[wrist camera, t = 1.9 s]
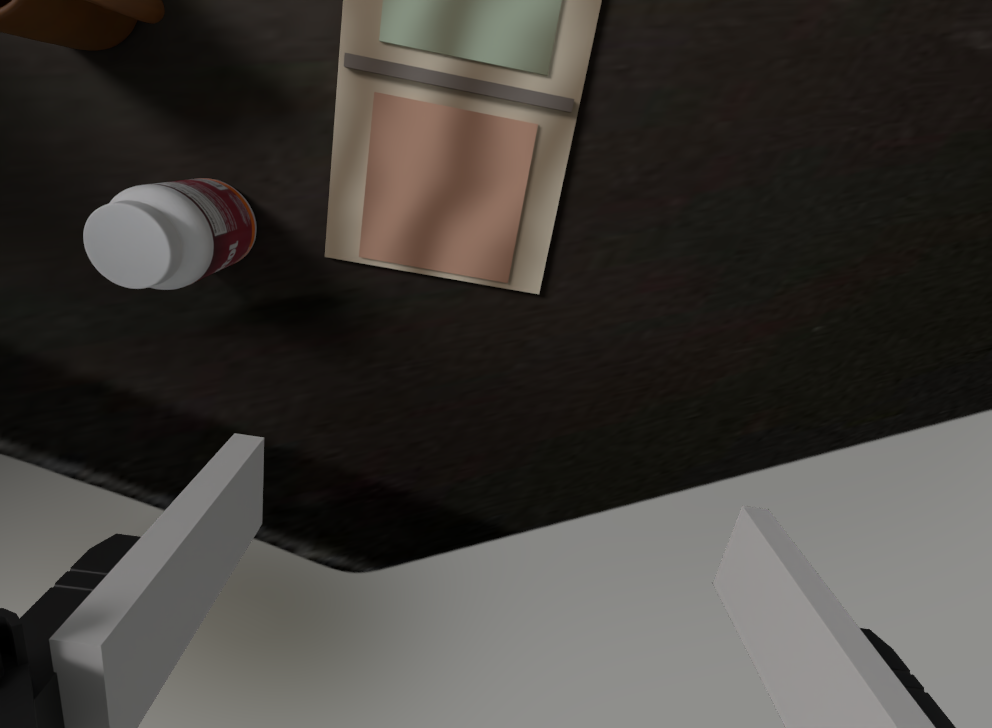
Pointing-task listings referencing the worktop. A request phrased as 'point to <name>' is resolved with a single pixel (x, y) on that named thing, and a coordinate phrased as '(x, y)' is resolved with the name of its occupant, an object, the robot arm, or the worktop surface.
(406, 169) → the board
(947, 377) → the worktop surface
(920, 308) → the worktop surface
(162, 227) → the pill bottle
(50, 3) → the mug
